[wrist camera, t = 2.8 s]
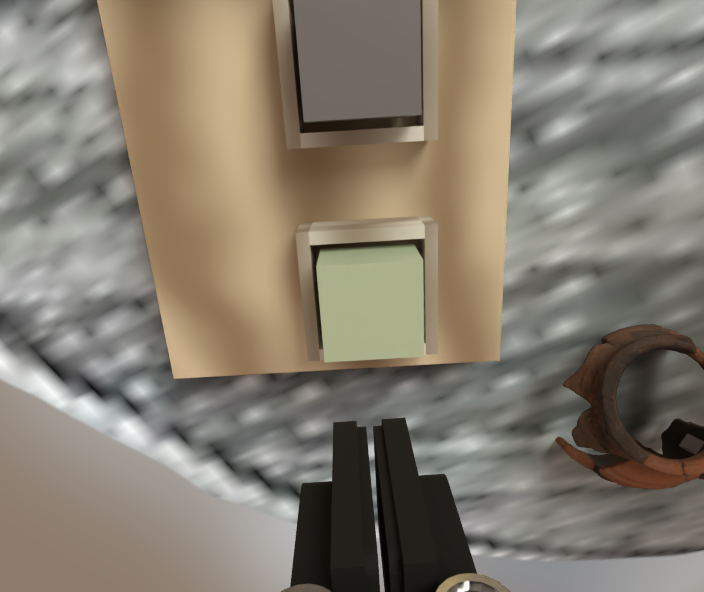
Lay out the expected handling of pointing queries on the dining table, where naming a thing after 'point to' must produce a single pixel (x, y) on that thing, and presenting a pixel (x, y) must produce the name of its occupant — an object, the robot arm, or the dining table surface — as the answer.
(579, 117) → the dining table surface
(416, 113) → the charcoal button
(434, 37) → the control panel
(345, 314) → the green button
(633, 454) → the brown curved piece
